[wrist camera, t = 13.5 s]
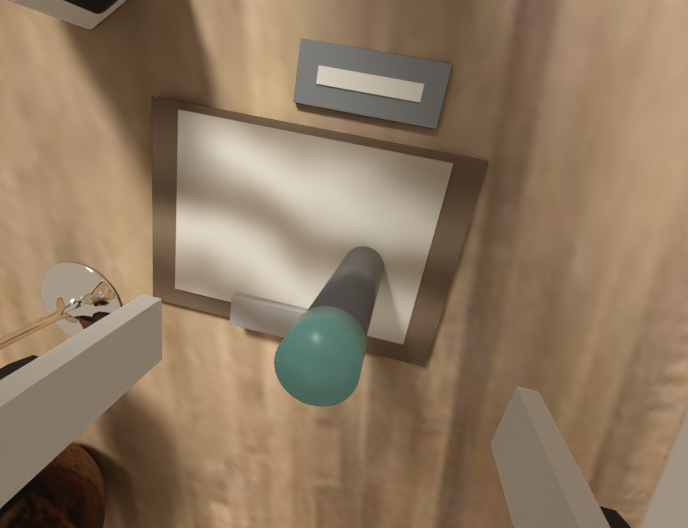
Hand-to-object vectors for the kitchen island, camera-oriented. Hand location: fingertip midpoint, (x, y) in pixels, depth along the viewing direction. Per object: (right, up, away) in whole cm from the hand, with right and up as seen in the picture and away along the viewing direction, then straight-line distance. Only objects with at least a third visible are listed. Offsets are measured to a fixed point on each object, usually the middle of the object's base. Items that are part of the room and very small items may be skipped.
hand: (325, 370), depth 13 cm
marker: (+2, +4, +11) cm, 12 cm away
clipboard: (-3, +6, +12) cm, 14 cm away
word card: (+2, +15, +9) cm, 17 cm away
